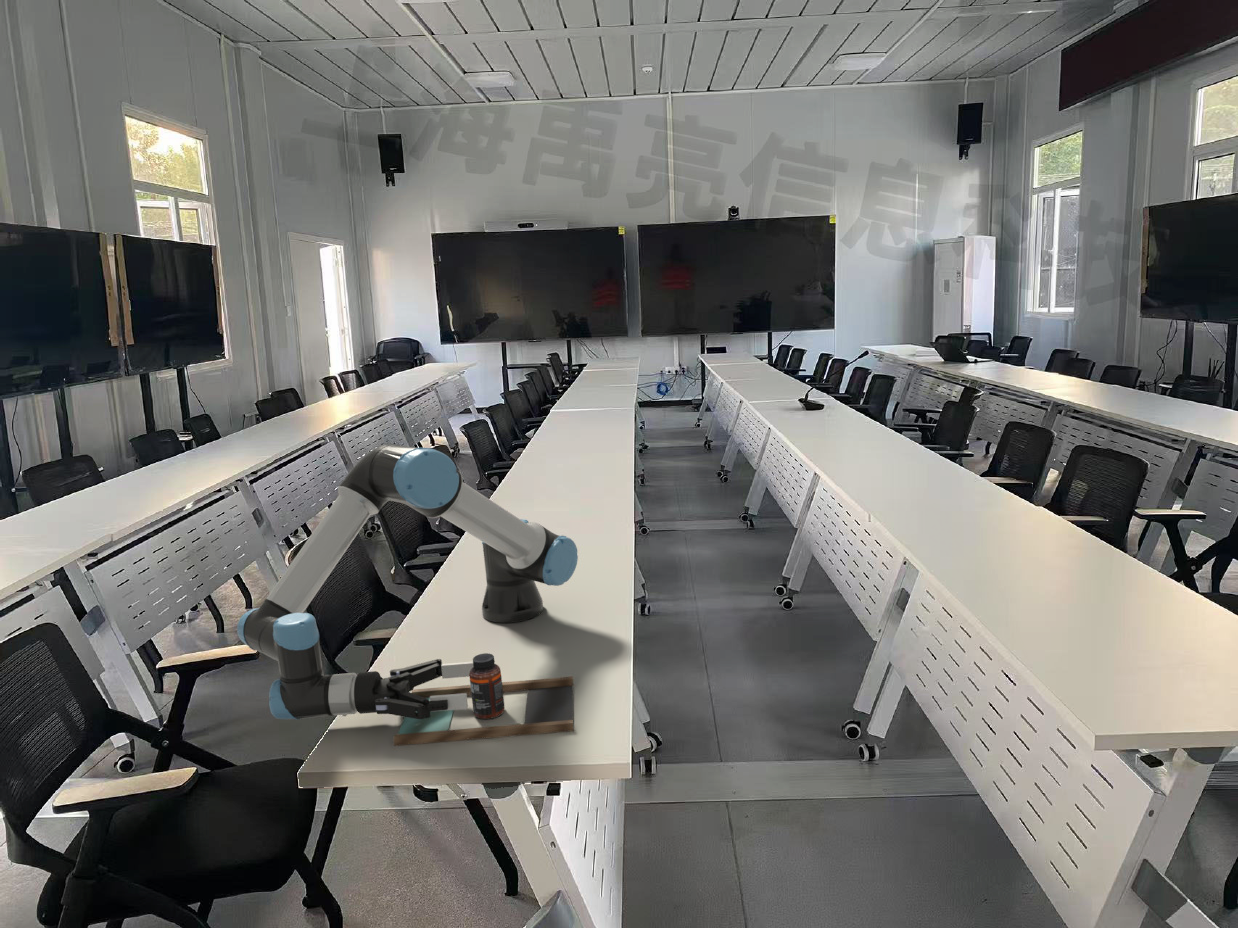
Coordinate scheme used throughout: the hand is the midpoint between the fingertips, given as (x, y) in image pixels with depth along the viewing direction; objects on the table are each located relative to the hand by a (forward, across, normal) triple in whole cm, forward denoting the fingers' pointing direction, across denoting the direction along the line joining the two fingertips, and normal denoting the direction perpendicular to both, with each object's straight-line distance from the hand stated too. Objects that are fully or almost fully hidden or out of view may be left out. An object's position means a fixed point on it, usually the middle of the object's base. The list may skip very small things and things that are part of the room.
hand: (471, 684), depth 162 cm
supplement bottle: (+3, 0, -7) cm, 7 cm away
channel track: (+3, 0, -6) cm, 7 cm away
